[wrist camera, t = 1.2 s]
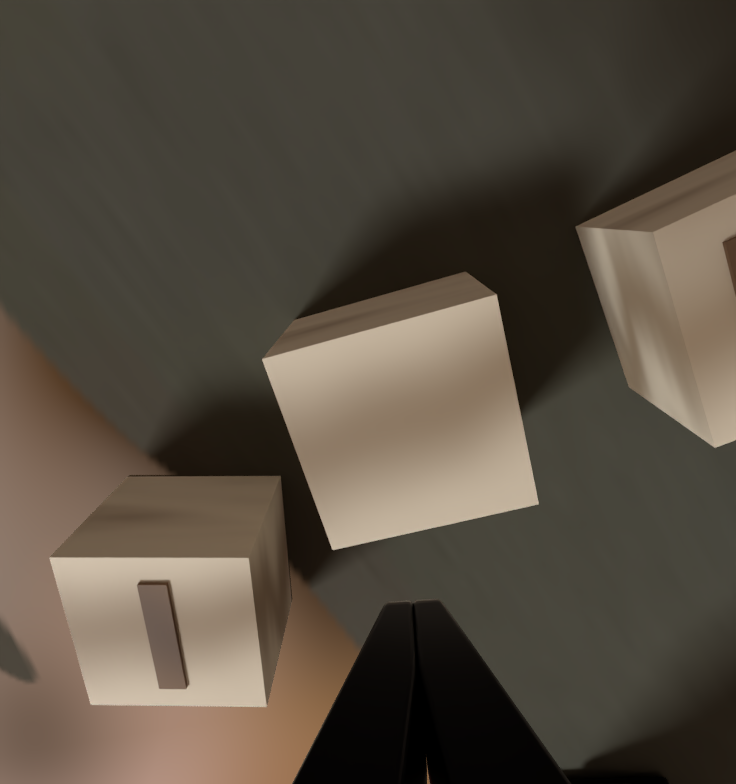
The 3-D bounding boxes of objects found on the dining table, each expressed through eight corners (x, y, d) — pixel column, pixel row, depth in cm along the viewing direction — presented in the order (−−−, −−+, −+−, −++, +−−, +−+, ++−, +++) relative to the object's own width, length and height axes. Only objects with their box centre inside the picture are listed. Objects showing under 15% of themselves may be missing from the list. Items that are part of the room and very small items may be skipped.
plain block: (499, 430, 19) (538, 504, 14) (344, 467, 19) (332, 550, 15) (465, 271, 17) (496, 294, 12) (294, 319, 17) (262, 359, 13)
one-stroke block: (292, 598, 22) (265, 710, 17) (154, 598, 22) (88, 708, 17) (281, 474, 20) (247, 560, 15) (129, 474, 20) (46, 559, 15)
